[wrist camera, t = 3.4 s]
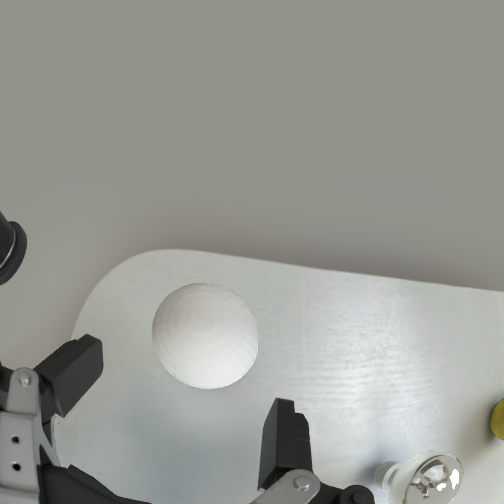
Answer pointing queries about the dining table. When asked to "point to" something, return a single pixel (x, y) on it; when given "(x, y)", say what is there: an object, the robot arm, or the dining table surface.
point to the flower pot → (498, 420)
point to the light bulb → (421, 478)
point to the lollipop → (205, 335)
